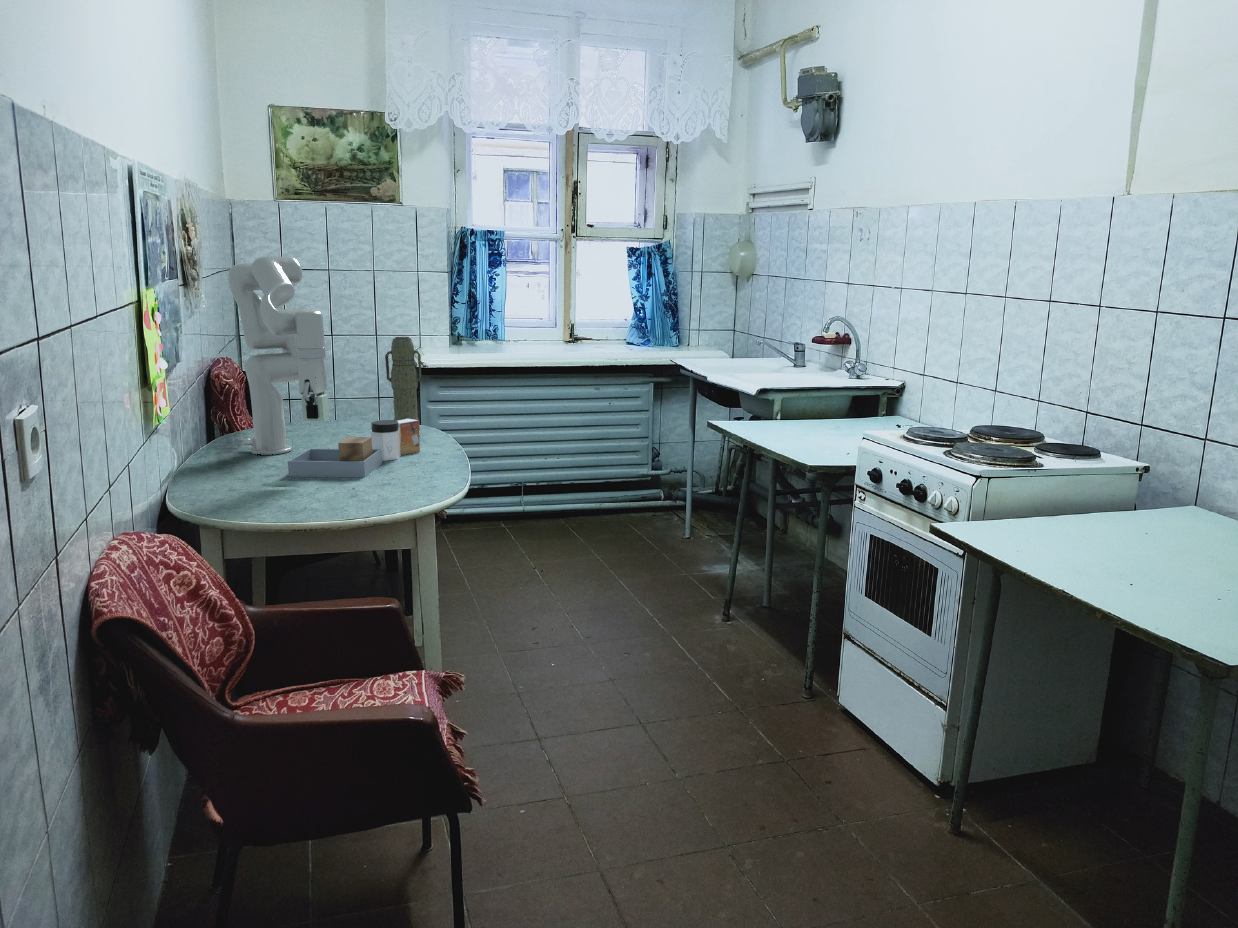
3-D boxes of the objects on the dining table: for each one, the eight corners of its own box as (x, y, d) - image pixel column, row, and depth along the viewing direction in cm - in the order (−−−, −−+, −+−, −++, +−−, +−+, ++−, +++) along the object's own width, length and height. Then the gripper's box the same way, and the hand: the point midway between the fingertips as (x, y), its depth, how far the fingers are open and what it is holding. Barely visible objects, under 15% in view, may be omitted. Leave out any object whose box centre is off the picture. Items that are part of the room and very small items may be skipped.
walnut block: (340, 473, 263) (338, 442, 261) (350, 466, 272) (348, 436, 270) (364, 473, 263) (362, 443, 261) (373, 466, 271) (371, 437, 269)
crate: (289, 478, 259) (287, 461, 258) (310, 465, 276) (309, 448, 275) (365, 479, 259) (364, 461, 258) (382, 466, 276) (381, 449, 274)
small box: (401, 455, 290) (399, 423, 287) (389, 453, 293) (388, 421, 291) (420, 451, 296) (419, 420, 294) (409, 449, 299) (407, 418, 297)
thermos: (388, 435, 321) (383, 336, 313) (422, 434, 325) (418, 335, 317) (390, 440, 313) (384, 338, 305) (425, 438, 316) (420, 338, 309)
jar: (377, 464, 278) (374, 425, 275) (368, 459, 285) (366, 421, 282) (405, 460, 283) (403, 422, 280) (396, 455, 289) (394, 418, 287)
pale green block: (303, 420, 262) (301, 396, 260) (309, 417, 267) (307, 394, 265) (323, 420, 262) (322, 396, 260) (329, 417, 266) (328, 394, 265)
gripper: (309, 351, 268) (314, 411, 272) (287, 357, 252) (292, 422, 256) (334, 351, 268) (338, 412, 272) (314, 357, 251) (318, 422, 255)
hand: (316, 416), depth 264 cm, fingers closed on pale green block, 5 cm apart
